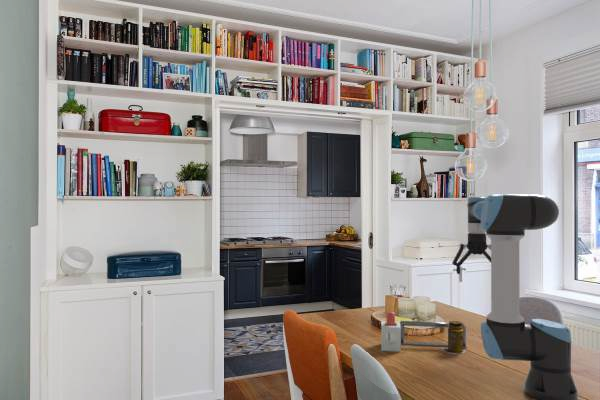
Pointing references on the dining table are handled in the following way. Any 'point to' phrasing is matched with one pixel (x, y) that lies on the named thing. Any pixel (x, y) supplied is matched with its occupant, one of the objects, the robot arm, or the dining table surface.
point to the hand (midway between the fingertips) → (477, 282)
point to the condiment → (455, 338)
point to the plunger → (390, 318)
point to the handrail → (428, 324)
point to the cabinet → (390, 337)
